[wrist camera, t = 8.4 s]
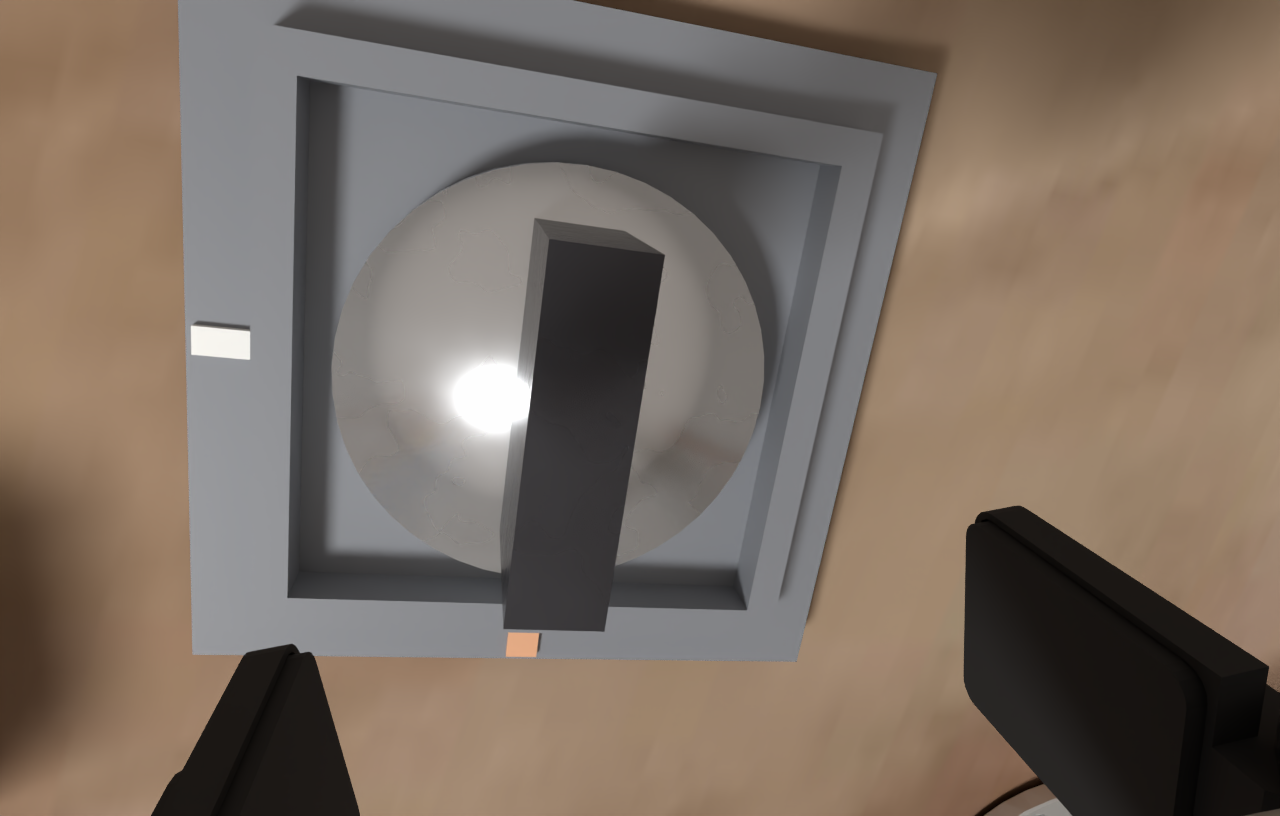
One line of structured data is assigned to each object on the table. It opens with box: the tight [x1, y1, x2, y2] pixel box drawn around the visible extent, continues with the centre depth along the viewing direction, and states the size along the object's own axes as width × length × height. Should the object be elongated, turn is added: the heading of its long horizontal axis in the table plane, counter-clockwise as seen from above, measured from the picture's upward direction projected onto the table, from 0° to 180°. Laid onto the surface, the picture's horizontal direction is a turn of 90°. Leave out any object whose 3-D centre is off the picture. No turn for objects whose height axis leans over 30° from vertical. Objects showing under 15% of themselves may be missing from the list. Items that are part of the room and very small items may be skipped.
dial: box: [332, 162, 764, 632], centre depth 20 cm, size 12×12×6 cm
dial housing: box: [178, 0, 937, 662], centre depth 23 cm, size 20×20×3 cm
